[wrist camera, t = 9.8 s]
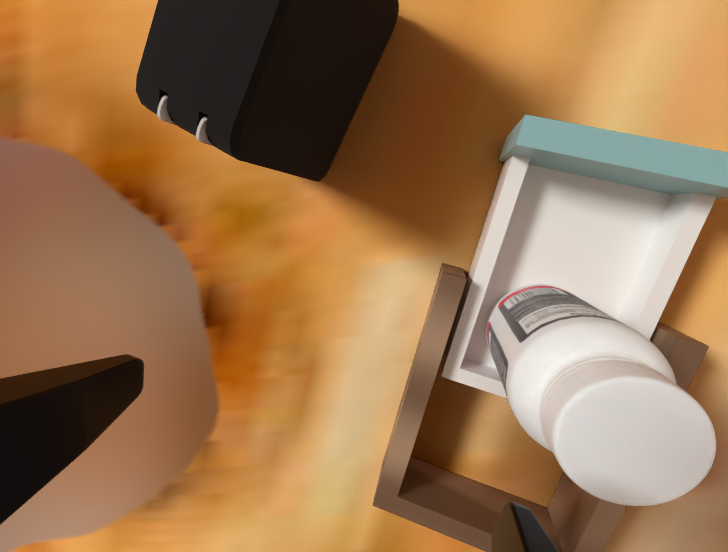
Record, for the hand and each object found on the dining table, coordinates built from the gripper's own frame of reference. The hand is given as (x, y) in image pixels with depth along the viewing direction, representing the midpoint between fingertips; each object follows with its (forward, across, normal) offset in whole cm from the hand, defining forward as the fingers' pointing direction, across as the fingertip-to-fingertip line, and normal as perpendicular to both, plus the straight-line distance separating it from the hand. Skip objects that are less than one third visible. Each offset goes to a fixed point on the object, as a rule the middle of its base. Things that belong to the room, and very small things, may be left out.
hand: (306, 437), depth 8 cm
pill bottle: (+13, -8, 0) cm, 16 cm away
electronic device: (+15, +7, -10) cm, 19 cm away
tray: (+14, -8, -3) cm, 17 cm away
